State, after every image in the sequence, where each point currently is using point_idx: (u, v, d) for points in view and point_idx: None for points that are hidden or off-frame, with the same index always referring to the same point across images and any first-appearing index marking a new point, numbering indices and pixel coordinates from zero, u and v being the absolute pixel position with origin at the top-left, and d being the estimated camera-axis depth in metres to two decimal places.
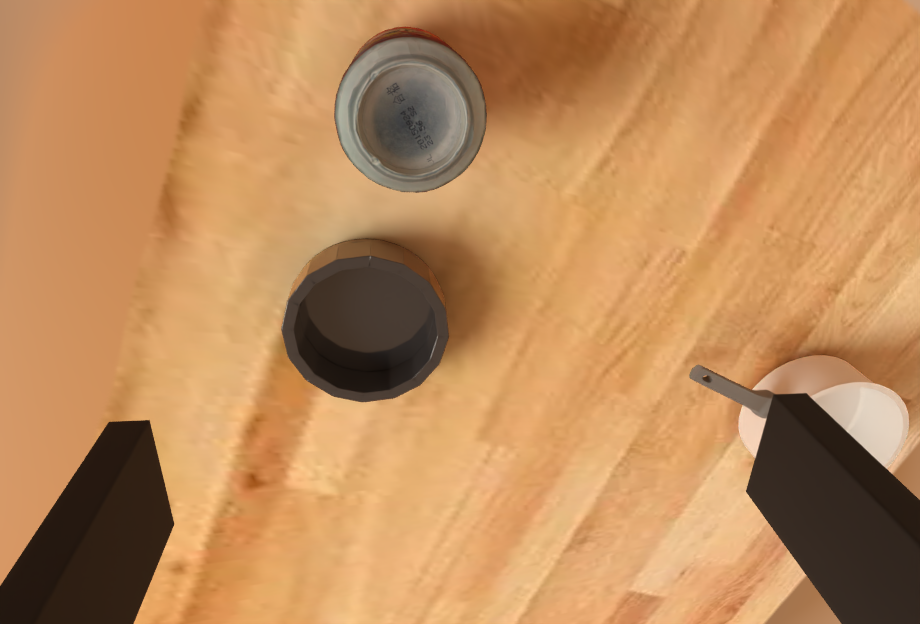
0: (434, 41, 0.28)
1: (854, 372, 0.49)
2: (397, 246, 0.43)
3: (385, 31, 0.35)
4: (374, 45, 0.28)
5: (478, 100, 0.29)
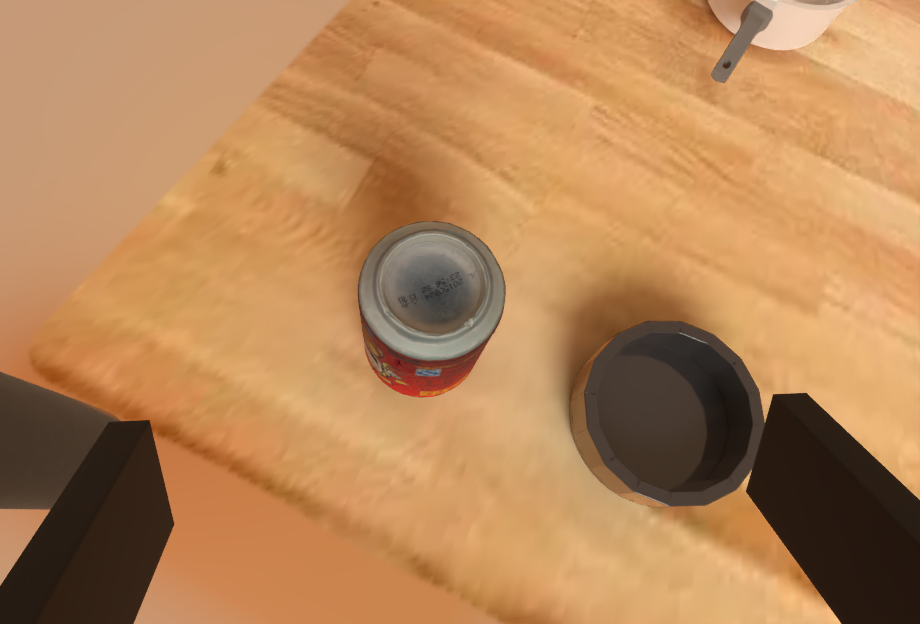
0: (365, 260, 0.30)
1: None
2: (579, 374, 0.41)
3: (365, 347, 0.37)
4: (362, 313, 0.29)
5: (420, 225, 0.31)
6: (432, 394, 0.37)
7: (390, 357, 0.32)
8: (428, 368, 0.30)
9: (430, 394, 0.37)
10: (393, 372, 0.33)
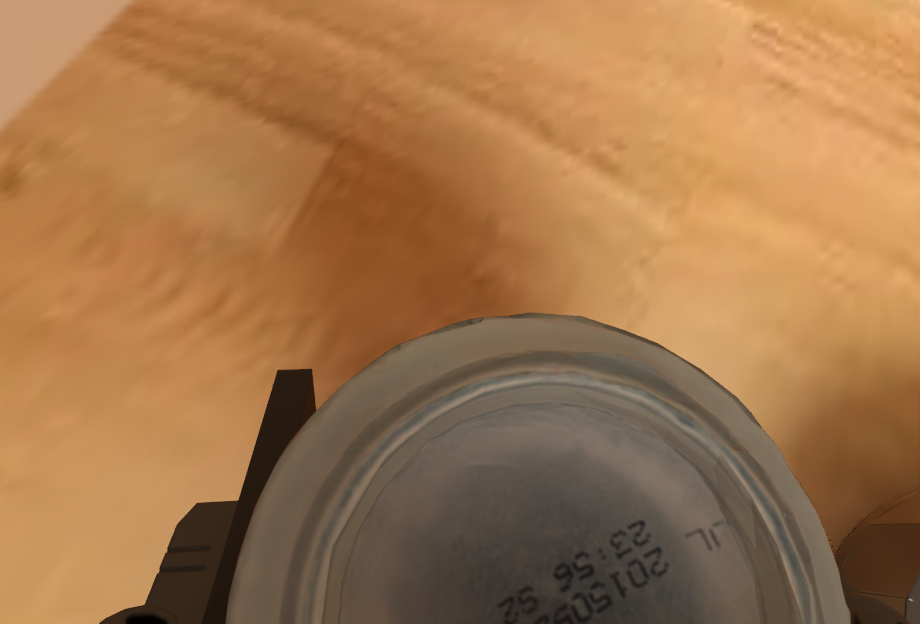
0: (257, 504, 0.07)
1: None
2: None
3: None
4: None
5: (475, 337, 0.08)
6: None
7: None
8: None
9: None
10: None
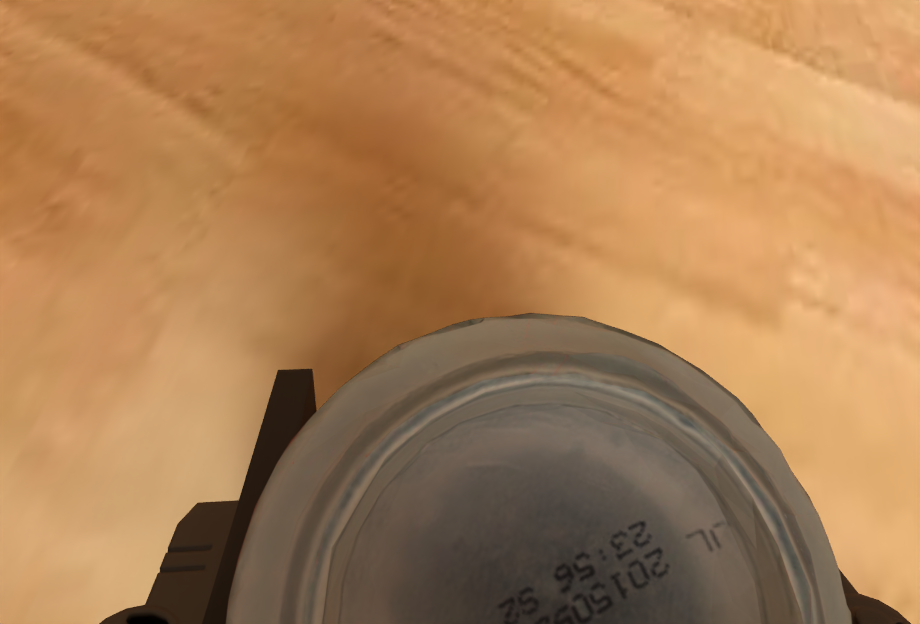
0: (257, 505, 0.07)
1: None
2: None
3: None
4: None
5: (476, 337, 0.08)
6: None
7: None
8: None
9: None
10: None
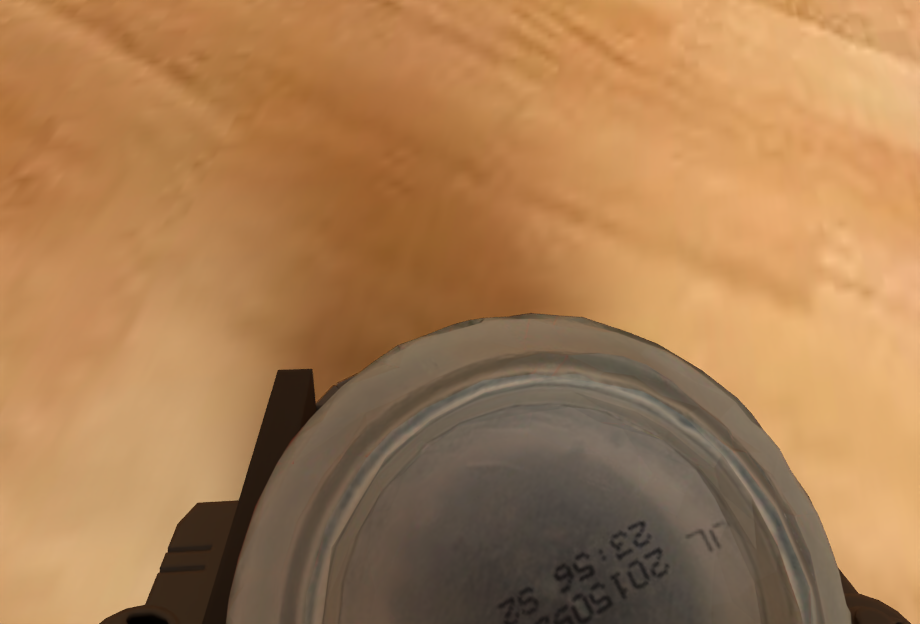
0: (257, 505, 0.07)
1: None
2: None
3: None
4: None
5: (476, 337, 0.08)
6: None
7: None
8: None
9: None
10: None
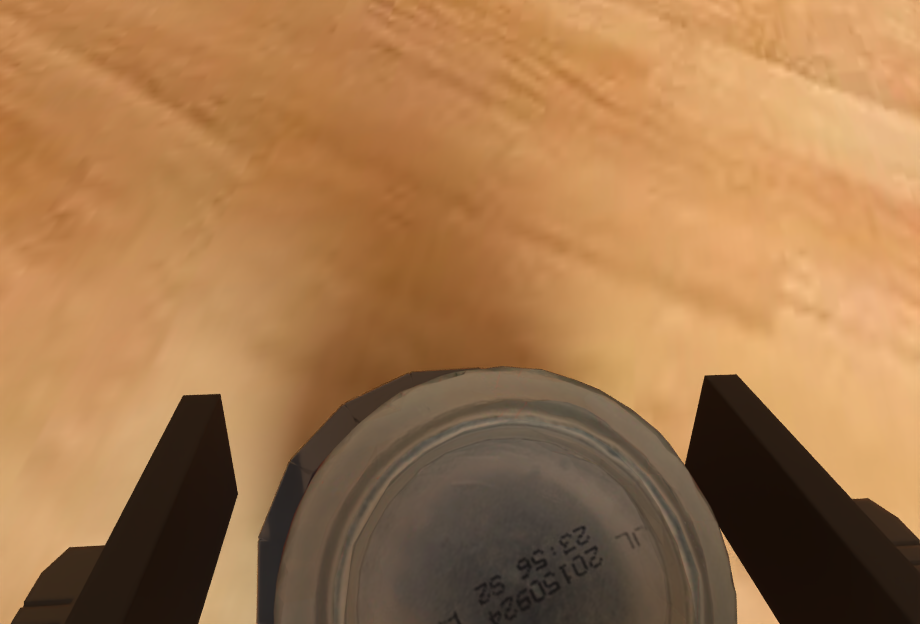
0: (295, 513, 0.10)
1: None
2: None
3: None
4: None
5: (459, 386, 0.10)
6: None
7: None
8: None
9: None
10: None
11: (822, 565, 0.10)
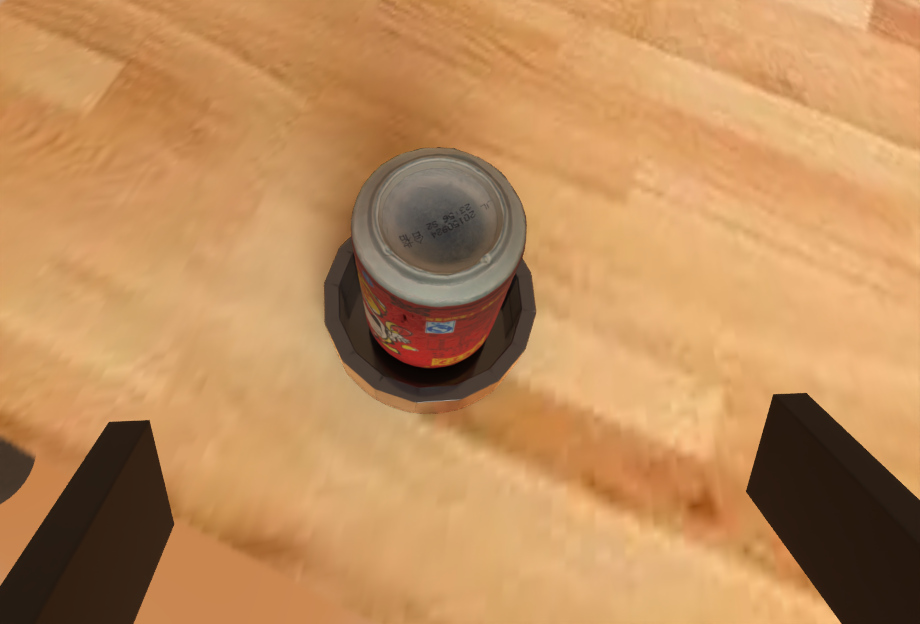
0: (358, 195, 0.25)
1: None
2: None
3: (365, 313, 0.32)
4: (357, 256, 0.24)
5: (420, 151, 0.26)
6: (446, 363, 0.32)
7: (394, 312, 0.27)
8: (440, 320, 0.25)
9: (443, 363, 0.32)
10: (399, 333, 0.28)
11: None
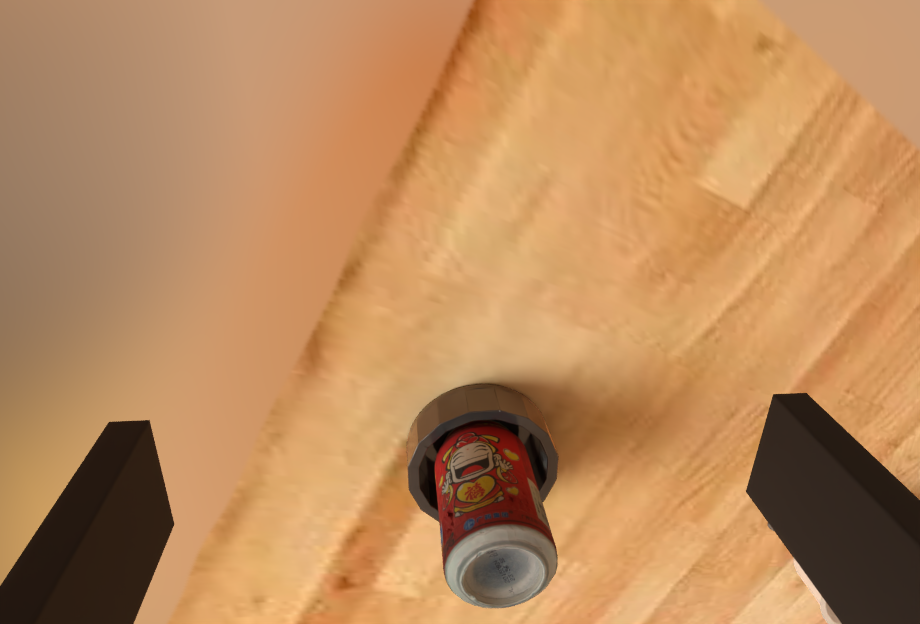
0: (526, 526, 0.37)
1: None
2: (515, 393, 0.47)
3: (473, 439, 0.44)
4: (481, 528, 0.37)
5: (553, 560, 0.38)
6: None
7: None
8: (442, 550, 0.40)
9: None
10: (445, 493, 0.42)
11: None
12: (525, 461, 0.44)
